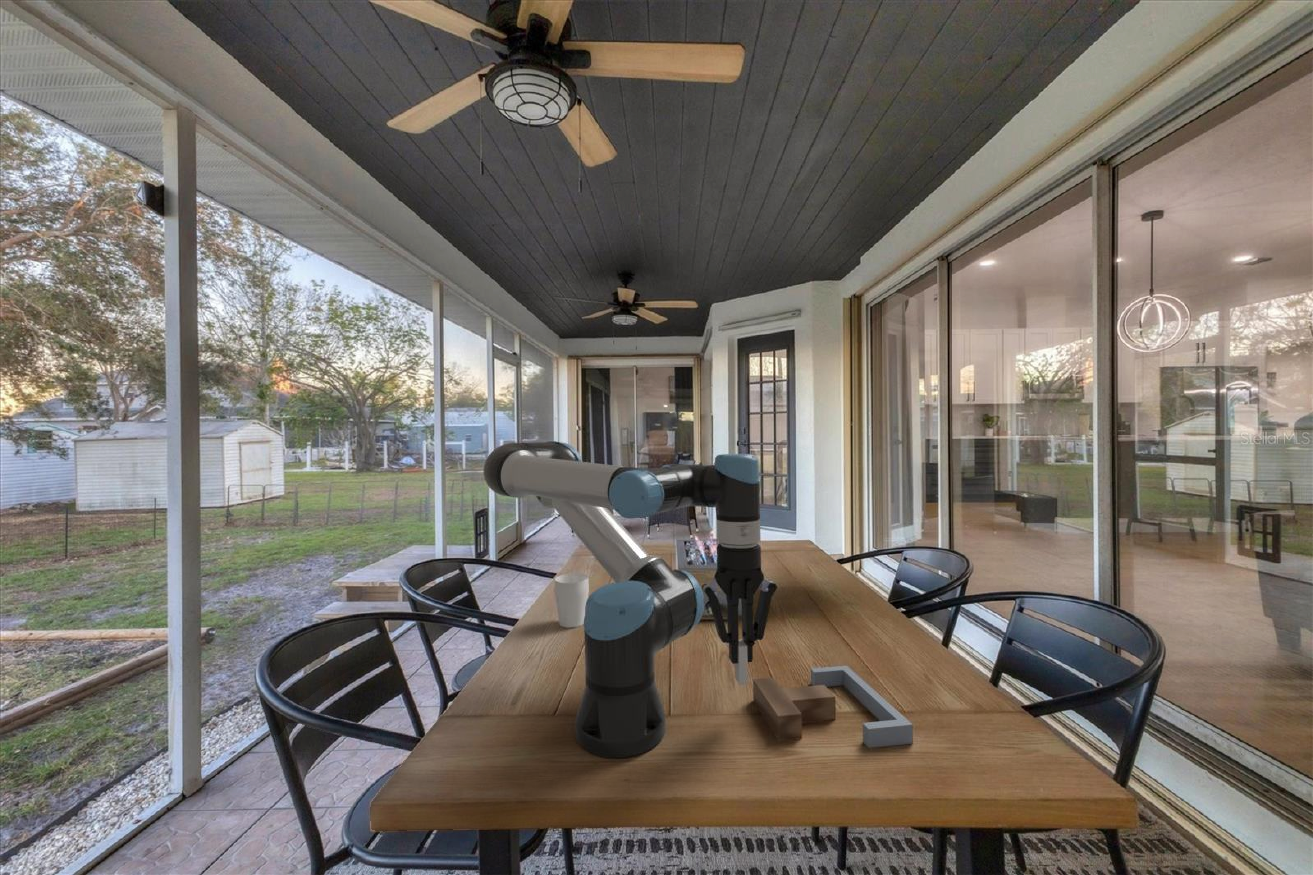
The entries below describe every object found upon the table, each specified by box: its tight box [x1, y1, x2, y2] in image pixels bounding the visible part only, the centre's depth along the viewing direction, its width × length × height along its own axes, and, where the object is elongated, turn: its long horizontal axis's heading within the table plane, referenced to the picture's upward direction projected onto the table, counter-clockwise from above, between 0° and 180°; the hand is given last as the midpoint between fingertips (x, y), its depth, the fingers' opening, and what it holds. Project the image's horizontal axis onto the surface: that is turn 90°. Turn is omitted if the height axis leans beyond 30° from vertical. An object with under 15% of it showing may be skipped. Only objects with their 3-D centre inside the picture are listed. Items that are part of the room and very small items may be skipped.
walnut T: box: [752, 677, 837, 742], centre depth 85 cm, size 12×12×4 cm
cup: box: [554, 572, 590, 629], centre depth 128 cm, size 9×9×12 cm
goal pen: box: [810, 665, 914, 749], centre depth 86 cm, size 8×20×3 cm, turn 8°
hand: (741, 680), depth 83 cm, fingers closed
